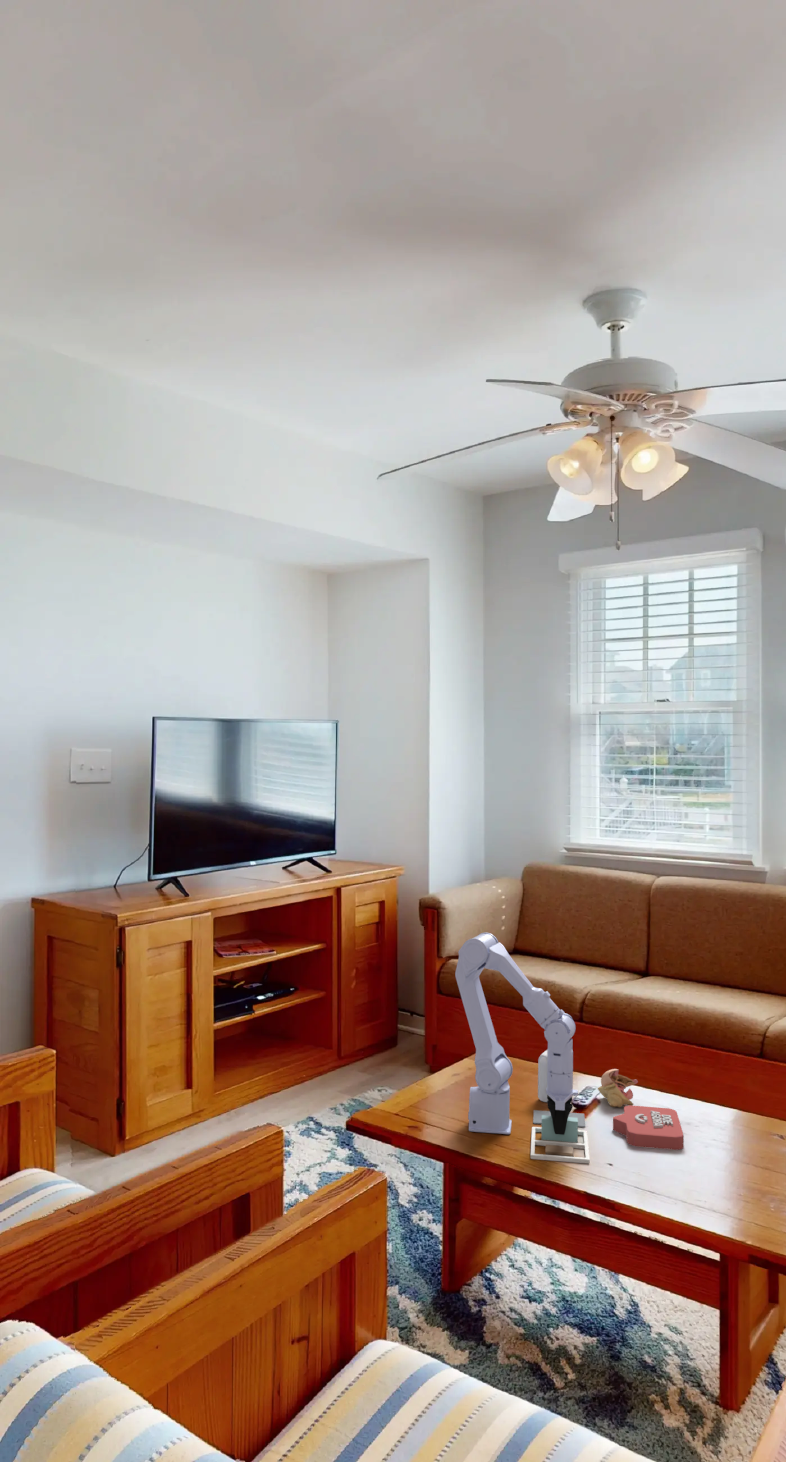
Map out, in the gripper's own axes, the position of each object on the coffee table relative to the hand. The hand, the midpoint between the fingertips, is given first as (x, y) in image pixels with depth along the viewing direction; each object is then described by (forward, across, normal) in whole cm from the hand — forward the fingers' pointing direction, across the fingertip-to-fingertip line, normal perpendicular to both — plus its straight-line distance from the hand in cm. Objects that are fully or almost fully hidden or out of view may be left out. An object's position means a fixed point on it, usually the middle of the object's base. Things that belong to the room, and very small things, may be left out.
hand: (559, 1131), depth 216 cm
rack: (+2, -4, 0) cm, 4 cm away
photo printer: (+2, +27, +1) cm, 27 cm away
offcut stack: (+2, -8, 0) cm, 8 cm away
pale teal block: (+2, 0, 0) cm, 2 cm away
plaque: (+2, +8, -20) cm, 22 cm away
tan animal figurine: (+2, +26, -14) cm, 30 cm away
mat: (+2, +12, 0) cm, 12 cm away
